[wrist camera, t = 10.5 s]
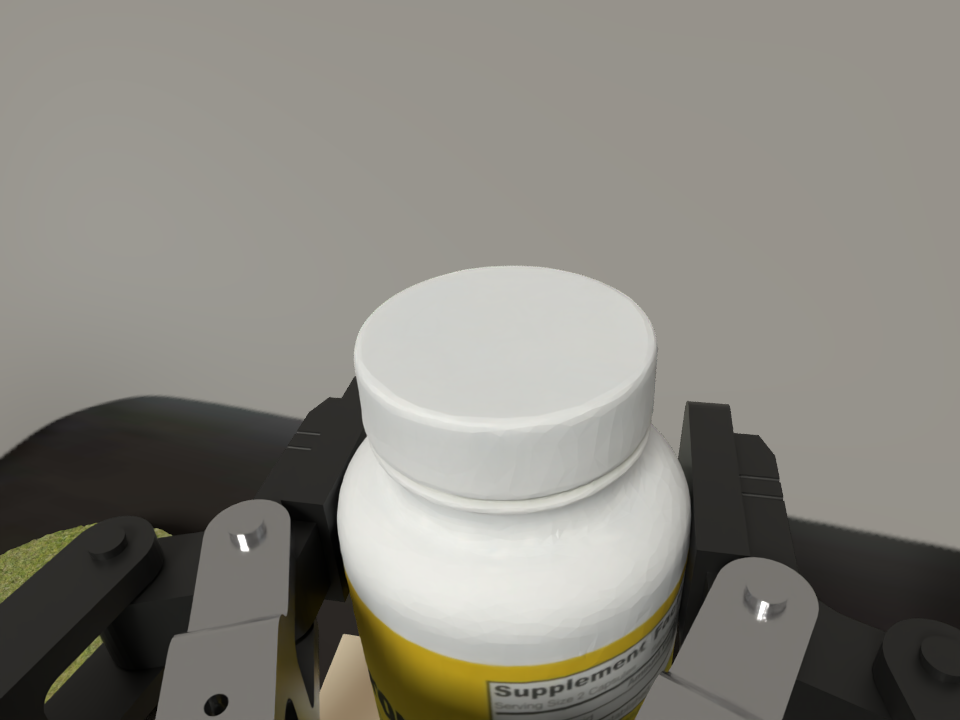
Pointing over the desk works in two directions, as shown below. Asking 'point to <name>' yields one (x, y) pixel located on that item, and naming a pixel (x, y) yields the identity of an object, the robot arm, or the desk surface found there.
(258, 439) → the desk surface
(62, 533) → the green disc with hole
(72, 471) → the desk surface
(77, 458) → the desk surface
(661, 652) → the supplement bottle
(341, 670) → the socket board
